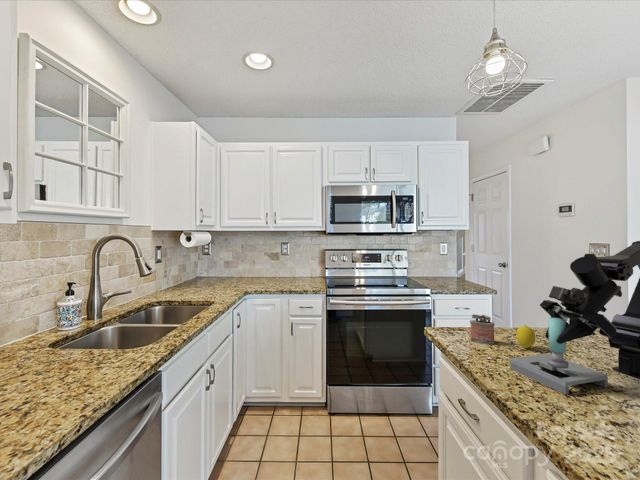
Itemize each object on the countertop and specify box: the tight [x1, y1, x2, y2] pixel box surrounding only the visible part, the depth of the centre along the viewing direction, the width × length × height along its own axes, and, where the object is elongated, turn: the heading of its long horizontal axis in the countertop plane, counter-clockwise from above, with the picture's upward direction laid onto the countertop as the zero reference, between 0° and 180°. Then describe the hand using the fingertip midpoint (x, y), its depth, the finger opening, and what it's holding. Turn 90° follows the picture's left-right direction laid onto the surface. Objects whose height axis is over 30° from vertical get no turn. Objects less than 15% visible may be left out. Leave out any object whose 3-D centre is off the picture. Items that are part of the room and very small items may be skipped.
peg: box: [547, 317, 569, 369], centre depth 82 cm, size 4×4×12 cm
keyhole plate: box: [509, 352, 609, 396], centre depth 86 cm, size 14×16×3 cm
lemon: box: [515, 324, 536, 349], centre depth 108 cm, size 6×6×8 cm
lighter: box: [469, 314, 496, 345], centre depth 115 cm, size 8×3×10 cm, turn 58°
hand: (552, 340), depth 82 cm, fingers closed on peg, 4 cm apart
